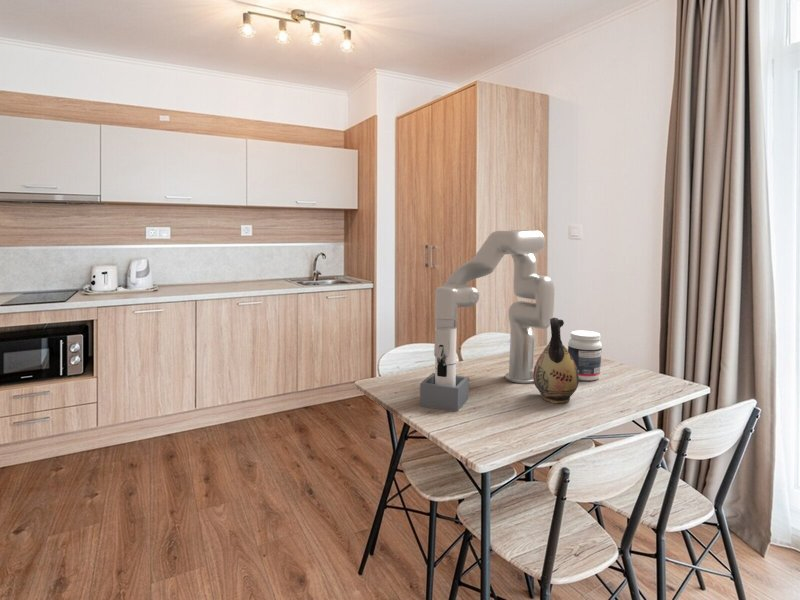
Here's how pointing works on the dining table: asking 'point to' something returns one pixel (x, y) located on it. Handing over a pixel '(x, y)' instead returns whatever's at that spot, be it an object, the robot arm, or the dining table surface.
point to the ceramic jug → (556, 369)
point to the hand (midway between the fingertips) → (445, 372)
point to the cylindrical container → (448, 363)
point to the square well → (444, 393)
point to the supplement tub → (586, 353)
